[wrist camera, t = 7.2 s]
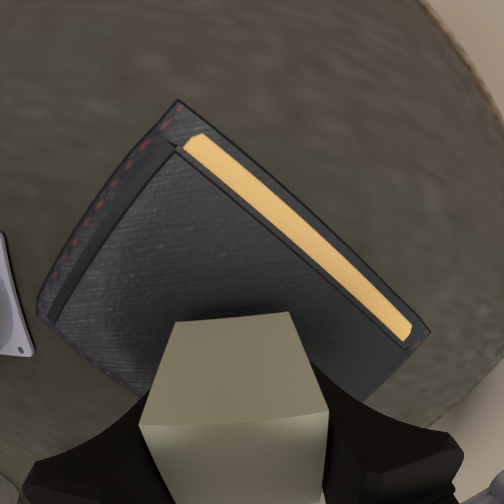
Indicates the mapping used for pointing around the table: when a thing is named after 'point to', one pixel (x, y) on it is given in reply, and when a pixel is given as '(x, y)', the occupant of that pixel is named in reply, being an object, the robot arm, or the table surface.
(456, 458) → the robot arm
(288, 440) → the block
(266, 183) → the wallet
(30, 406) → the table surface
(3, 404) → the table surface
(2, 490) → the house plant
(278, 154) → the table surface
